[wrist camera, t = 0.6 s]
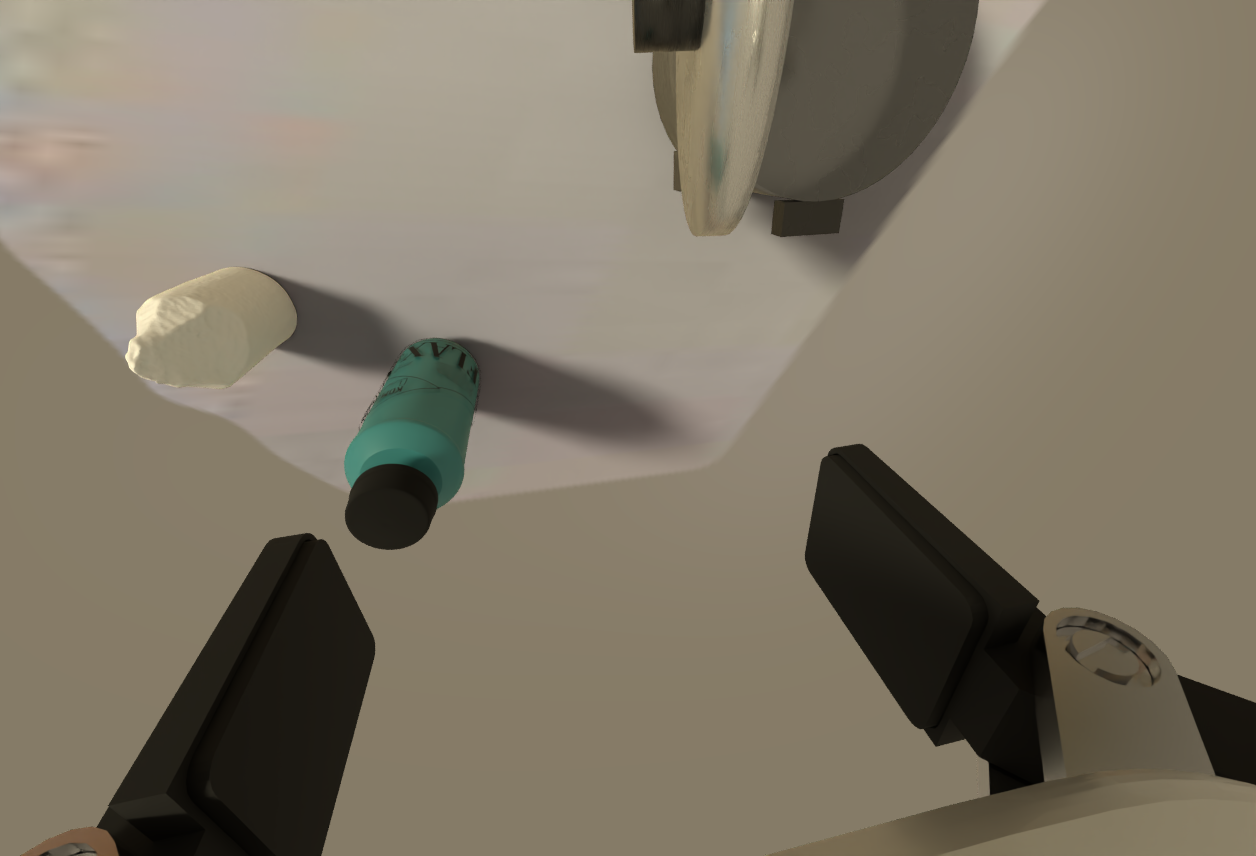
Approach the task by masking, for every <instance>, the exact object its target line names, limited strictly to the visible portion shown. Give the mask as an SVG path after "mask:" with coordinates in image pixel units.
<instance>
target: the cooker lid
mask: <svg viewBox="0 0 1256 856" xmlns="http://www.w3.org/2000/svg"><path fill="white" fill-rule="evenodd" d="M793 4H794V0H632V17H633V44H634V53H648V52H675V51H676V115H677V141H678V159H679V172H680V183H681V192H682V200H683V206H684V211H685V216H686V220H687V223H688V226H689V229H690V231H691V233H692V234H693V235H694V236H696V237H698V236H724V235H728V234H730V233H731V232H732V231H733V230H734V229H735V228H736V226H737V225H738V223H739V222H740V220H741V218H742V216H743V214H744V212H745V210H746V208H747V205H748V203H749V200H750V198H751V195H752V192H753V189H754V186H755V184H756V181H757V177H758V174H759V170H760V167H761V163H762V160H763V156H764V153H765V149H766V145H767V141H768V136H769V132H770V128H771V124H772V120H773V116H774V111H775V106H776V101H777V96H778V91H779V86H780V81H781V76H782V71H783V65H784V59H785V53H786V47H787V42H788V36H789V30H790V24H791V18H792V11H793Z"/></svg>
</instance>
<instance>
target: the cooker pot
mask: <svg viewBox="0 0 1256 856" xmlns="http://www.w3.org/2000/svg"><path fill="white" fill-rule="evenodd" d="M978 3H979V0H794V4H793V11H792V18H791V24H790V30H789V36H788V42H787V47H786V53H785V59H784V65H783V71H782V76H781V81H780V86H779V91H778V96H777V101H776V106H775V111H774V116H773V120H772V124H771V128H770V132H769V136H768V141H767V145H766V149H765V153H764V156H763V160H762V163H761V167H760V170H759V174H758V177H757V181H756V184H755V186H754V189H753V193H759V194H764V195H770V196H776V197H782V198H788V199H794V200H776V201H775V202H774V211H773V221H772V231H771V234H773V235H777V236H780V237H787V236H801V235H816V234H831V233H839V228H840V222H841V216H842V210H843V203H844V199H840V198H841V197H845V196H848V195H851V194H854V193H856V192H858V191H861V190H863V189H865V188H867V187H869V186H871V185H872V184H874V183H876V182H877V181H879V180H881V179H882V178H884V177H885V176H886V175H888V174H889V173H890V172H891V171H893V170H894V169H895V168H897V167H898V166H899V165H900V164H901V163H902V162H903V161H904V160H905V159H906V158H907V157H908V156H910V155H911V153H912V152H913V151H914V150H915V149H916V148H917V147H918V145H919V144H920V143H921V142H922V141H923V140H924V139H925V137H926V136H927V134H928V133H929V132H930V130H931V129H932V127H933V126H934V125H935V123H936V122H937V120H938V119H939V117H940V115H941V114H942V112H943V110H944V109H945V107H946V105H947V103H948V102H949V99H950V97H951V95H952V93H953V91H954V89H955V87H956V85H957V83H958V80H959V78H960V75H961V73H962V70H963V67H964V65H965V62H966V59H967V56H968V52H969V49H970V45H971V42H972V38H973V33H974V28H975V23H976V18H977V12H978ZM652 71H653V86H654V92H655V98H656V104H657V107H658V111H659V114H660V118H661V121H662V123H663V126H664V128H665V130H666V133H667V135H668V137H669V139H670V140H671V142H672V144H673V146H674V147H675V149H676V150H677V151H674V190H676V191H680V192H681V183H680V172H679V159H678V141H677V115H676V51H675V52H653V62H652Z"/></svg>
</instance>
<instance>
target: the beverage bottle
mask: <svg viewBox="0 0 1256 856" xmlns="http://www.w3.org/2000/svg"><path fill="white" fill-rule="evenodd" d="M421 340H422V339H421ZM418 341H419V340H418ZM413 343H414V342H413ZM408 346H409V345H408ZM404 350H405V348H404ZM402 352H403V350H402V351H401V353H402ZM401 353H400V354H401ZM469 353H470V352H469V351H467V350H466V349H464V347H462V346H461V345H459V344H457V343H455V342H452V341H450V340H446V339H441V338H439V339H438V338H433V339H428V338H426V340H422V341H419V342H416V343H414V344H413V345H410V347H409V348H408V347H407V349H406V350H405V351H404V352H403V354H402V355H401V356H400V358H399V359H398V361H396V362H397V364H396V363H395V362H394V363H395V364H396V365H395V364H393V365H395V367H394V369H392V370H391V369H390V370H391V371H392V372H391V371H390V372H389V373H388V374H387V377H386V378H385V380H386V379H387V378H388V377H389V378H388V380H387V381H386V383H385V382H384V381H383V382H384V383H385V385H384V383H382V384H383V385H384V387H383V388H382V390H381V392H380V393H379V392H378V393H379V396H376V398H377V397H378V398H377V399H376V401H375V400H374V401H375V402H374V401H373V403H374V405H373V404H370V405H373V406H372V408H371V410H369V409H367V410H369V411H370V412H369V413H367V414H366V415H367V417H366V415H365V416H364V417H366V419H365V420H364V419H363V420H364V423H363V425H362V427H361V429H360V431H359V433H358V434H357V436H356V437H355V438H354V439H353V441H352V442H351V444H350V446H349V447H348V449H347V452H346V455H345V461H344V469H345V474H346V477H347V480H348V483H349V484H350V486H351V488H352V489H351V491H350V495H349V501H348V504H347V507H346V510H345V521H346V525H347V527H348V529H349V531H350V532H351V533H352V534H353V536H354V537H355V538H357V539H358V540H359V541H361V542H362V543H365V544H366V545H368V546H371V547H374V548H378V549H386V550H394V549H401V548H405V547H408V546H411V545H413V544H415V543H416V542H418V541H419V540H420V539H421V538H422V537H423V536H424V535H425V534H426V532H427V531H428V529H429V527H430V524H431V521H432V519H433V517H434V515H435V512H436V509H437V508H439V507H441V506H443V505H445V504H446V503H447V502H449V501H450V500H451V499H452V498H453V497H454V496H455V494H456V493H457V492H458V490H459V488H460V486H461V484H462V481H463V477H464V463H465V457H466V451H467V445H468V439H469V433H470V427H471V425H472V420H473V414H474V410H475V409H476V411H477V408H475V403H478V402H476V398H478V396H479V395H478V396H477V392H478V391H479V390H478V387H479V386H480V385H481V384H479V371H478V369H479V368H478V366H477V364H476V362H475V361H474V359H475V358H474V359H473V357H472V356H471V355H470V354H471V353H470V354H469ZM398 356H399V355H398ZM391 368H392V367H391ZM480 373H481V372H480ZM480 380H481V379H480ZM381 386H382V385H381ZM480 387H481V386H480ZM379 390H380V389H379ZM378 393H377V394H378ZM479 393H480V391H479ZM374 398H375V397H374ZM478 399H479V398H478ZM478 399H477V400H478ZM369 408H370V407H369ZM366 412H367V411H366ZM475 415H476V414H475ZM364 417H363V418H364ZM363 420H362V421H363ZM473 422H474V421H473ZM361 423H362V422H361ZM359 425H360V424H359Z"/></svg>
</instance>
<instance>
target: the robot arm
mask: <svg viewBox="0 0 1256 856" xmlns="http://www.w3.org/2000/svg"><path fill="white" fill-rule="evenodd" d="M805 561H806V564H807V567H808V570H809V572H810V573H811V575H812V576H813V578H814V579H815V581H816V582H817V584H818V585H819V587H820V588H821V590H822V591H823V593H824V594H825V596H826V597H827V599H828V600H829V602H830V603H831V605H832V606H833V607H834V609H835V610H836V612H837V613H838V615H839V616H840V618H841V619H842V621H843V622H844V624H845V625H846V627H847V628H848V630H849V631H850V633H851V634H852V636H853V637H854V639H855V640H856V642H857V643H858V645H859V646H860V648H861V649H862V651H863V652H864V654H865V655H866V657H867V658H868V660H869V661H870V663H871V664H872V665H873V667H874V669H875V670H876V671H877V673H878V674H879V676H880V677H881V679H882V680H883V682H884V683H885V685H886V686H887V688H888V689H889V691H890V692H891V694H892V695H893V697H894V698H895V700H896V701H897V703H898V704H899V706H900V707H901V709H902V710H903V712H904V713H905V715H906V716H907V718H908V719H909V720H910V721H911V723H912V724H913V725H914V726H915V727H917V728H919V729H924V730H925V732H926V733H927V735H928V736H929V738H930V739H931V740H932V742H933V743H934V745H935V746H940V745H944V744H948V743H952V742H956V741H960V740H964V739H966V740H967V741H968V743H969V744H970V746H971V747H972V748H973V750H974V751H975V752H976V754H977V785H978V798H977V799H974V800H969V801H965V802H961V803H957V804H953V805H949V806H945V807H942V808H938V809H935V810H931V811H927V812H923V813H920V814H916V815H912V816H908V817H905V818H901V819H897V820H894V821H890V822H886V823H883V824H879V825H875V826H872V827H868V828H864V829H861V830H857V831H853V832H849V833H846V834H842V835H838V836H834V837H831V838H827V839H824V840H820V841H816V842H812V843H809V844H805V845H801V846H798V847H794V848H790V849H787V850H783V851H779V852H776V853H772V854H769V855H765V856H1256V703H1254V702H1252V701H1249V700H1246V699H1244V698H1241V697H1238V696H1235V695H1232V694H1229V693H1227V692H1224V691H1221V690H1218V689H1216V688H1213V687H1210V686H1207V685H1204V684H1202V683H1199V682H1196V681H1194V680H1191V679H1188V678H1185V677H1182V676H1180V675H1177V673H1176V671H1175V669H1174V667H1173V666H1172V664H1171V662H1170V661H1169V659H1168V657H1167V656H1166V655H1165V654H1164V653H1163V652H1162V651H1161V650H1160V649H1159V648H1158V647H1157V646H1156V644H1154V643H1153V642H1152V641H1151V640H1150V639H1148V638H1147V637H1146V636H1144V635H1143V634H1141V633H1140V632H1139V631H1137V630H1136V629H1134V628H1132V627H1131V626H1129V625H1127V624H1125V623H1123V622H1121V621H1119V620H1118V619H1116V618H1113V617H1110V616H1108V615H1105V614H1102V613H1100V612H1097V611H1092V610H1087V609H1083V608H1060V609H1057V610H1054V611H1051V612H1050V613H1049V614H1048V615H1047V617H1046V616H1045V615H1044V614H1043V613H1042V612H1041V611H1040V610H1039V609H1038V608H1037V607H1036V606H1037V605H1038V603H1039V600H1038V599H1037V598H1036V597H1034V596H1033V595H1032V594H1031V593H1030V592H1029V591H1028V590H1027V589H1026V588H1024V587H1023V586H1022V585H1021V584H1020V583H1019V582H1018V581H1017V580H1015V579H1014V578H1013V577H1012V576H1011V575H1010V574H1009V573H1008V572H1006V571H1005V570H1004V569H1003V568H1002V567H1001V566H1000V565H998V564H997V563H996V562H995V561H994V560H993V559H992V558H991V557H990V556H989V555H987V554H986V553H985V552H984V551H983V550H982V549H981V548H980V547H978V546H977V545H976V544H975V543H974V542H973V541H972V540H971V539H969V538H968V537H967V536H966V535H965V534H964V533H963V532H962V531H960V530H959V529H958V528H957V527H956V526H955V525H954V524H952V522H950V521H949V520H948V519H947V518H946V517H945V516H944V515H943V514H941V513H940V512H939V511H938V510H937V509H936V508H935V507H934V506H932V505H931V504H930V503H929V502H928V501H927V500H926V499H925V498H923V497H922V496H921V495H920V494H919V493H918V492H917V491H916V490H914V489H913V488H912V487H911V486H910V485H909V484H908V483H907V482H906V481H904V480H903V479H902V478H901V477H900V476H899V475H898V474H897V473H895V472H894V471H893V470H892V469H891V468H890V467H889V466H887V465H886V464H885V463H884V462H883V461H882V460H881V459H879V457H877V456H876V455H875V454H874V453H873V452H872V451H870V449H869V448H867V447H866V446H864V445H863V444H855V445H849V446H843V447H836V448H833V449H831V450H830V451H829V453H828V456H826V457H824V458H823V459H822V461H821V465H820V471H819V477H818V482H817V488H816V493H815V500H814V505H813V511H812V517H811V522H810V528H809V533H808V539H807V546H806V551H805ZM374 656H375V641H374V637H373V635H372V633H371V631H370V629H369V627H368V625H367V622H366V620H365V618H364V616H363V614H362V612H361V610H360V608H359V606H358V604H357V602H356V600H355V598H354V596H353V594H352V592H351V590H350V588H349V586H348V584H347V582H346V580H345V578H344V576H343V574H342V572H341V570H340V568H339V566H338V563H337V562H336V560H335V557H334V555H333V554H332V551H331V549H330V547H329V545H328V544H327V542H326V541H324V540H322V539H320V540H317V539H316V538H315V537H314V535H312V534H310V533H305V534H299V535H293V536H286V537H280V538H274V539H272V540H270V541H269V542H268V543H267V544H266V546H265V547H264V549H263V550H262V552H261V554H260V555H259V557H258V559H257V560H256V562H255V564H254V566H253V567H252V569H251V571H250V572H249V574H248V575H247V577H246V579H245V580H244V582H243V583H242V585H241V587H240V588H239V590H238V592H237V593H236V595H235V597H234V599H233V600H232V602H231V603H230V605H229V607H228V608H227V610H226V612H225V613H224V615H223V617H222V618H221V620H220V621H219V623H218V625H217V627H216V628H215V630H214V631H213V633H212V635H211V636H210V638H209V640H208V641H207V643H206V645H205V646H204V648H203V650H202V651H201V653H200V655H199V656H198V658H197V659H196V661H195V663H194V665H193V666H192V668H191V670H190V671H189V673H188V674H187V676H186V678H185V679H184V681H183V683H182V684H181V686H180V688H179V689H178V691H177V693H176V694H175V696H174V698H173V699H172V701H171V703H170V704H169V706H168V707H167V709H166V711H165V712H164V714H163V716H162V717H161V719H160V721H159V722H158V724H157V726H156V728H155V729H154V731H153V732H152V734H151V736H150V737H149V739H148V740H147V742H146V744H145V746H144V747H143V749H142V750H141V752H140V754H139V755H138V757H137V759H136V760H135V762H134V764H133V765H132V767H131V769H130V770H129V772H128V774H127V775H126V777H125V779H124V780H123V782H122V783H121V785H120V787H119V789H118V790H117V792H116V793H115V795H114V797H113V798H112V800H111V802H110V803H109V805H108V806H109V807H108V809H107V811H106V812H105V814H104V816H103V817H102V819H101V821H100V822H99V824H98V826H97V827H85V828H78V829H72V830H69V831H67V832H64V833H62V834H59V835H57V836H54V837H52V838H49V839H47V840H45V841H43V842H42V843H40V844H38V845H37V846H35V847H34V848H32V849H30V850H29V851H27V852H25V853H24V854H22V855H20V856H321V854H322V851H323V847H324V843H325V840H326V836H327V832H328V828H329V825H330V820H331V817H332V813H333V810H334V806H335V802H336V798H337V795H338V791H339V787H340V784H341V780H342V776H343V772H344V768H345V765H346V761H347V757H348V754H349V750H350V746H351V742H352V739H353V735H354V731H355V728H356V724H357V720H358V716H359V712H360V709H361V705H362V701H363V698H364V694H365V690H366V687H367V683H368V679H369V675H370V672H371V668H372V664H373V660H374Z"/></svg>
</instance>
